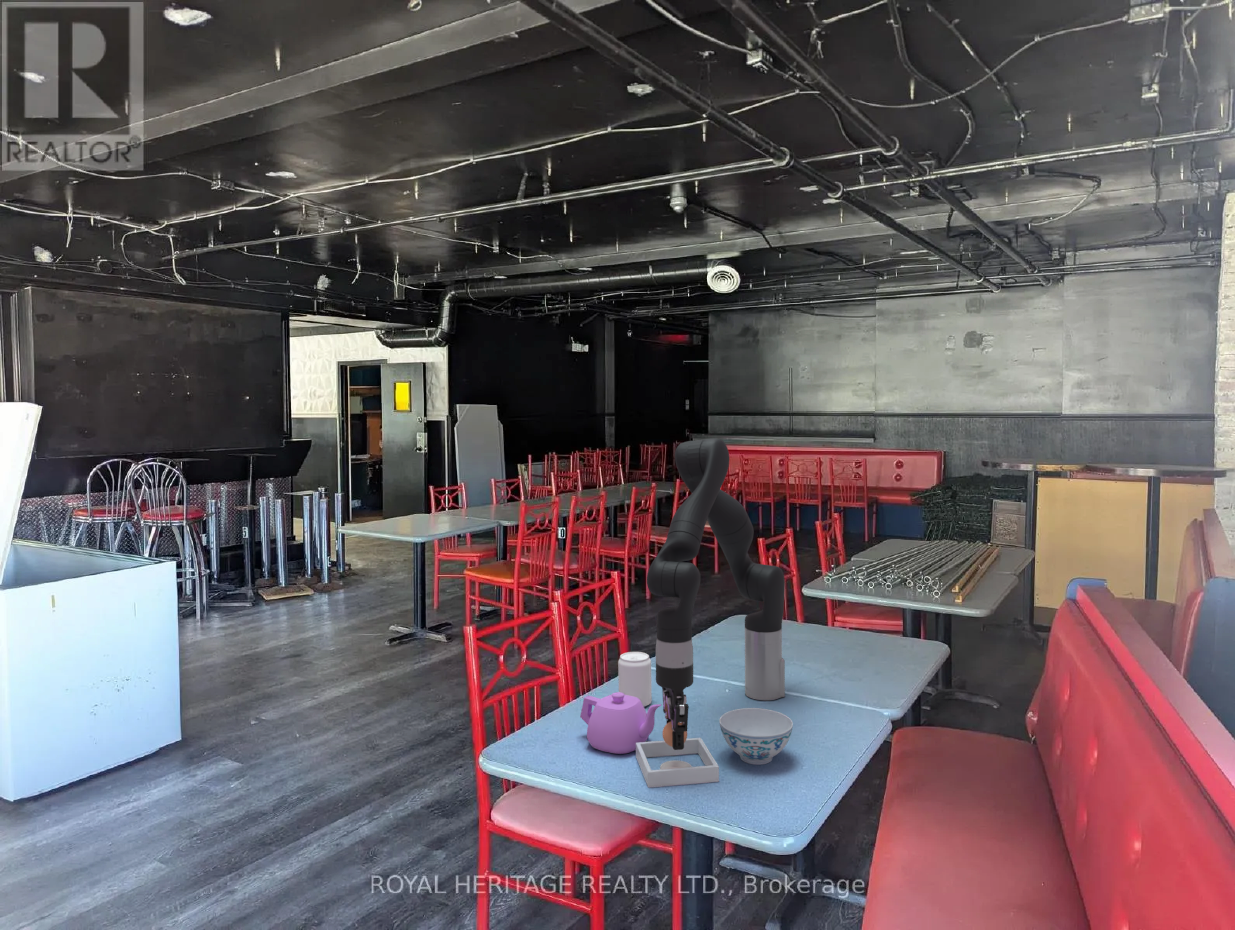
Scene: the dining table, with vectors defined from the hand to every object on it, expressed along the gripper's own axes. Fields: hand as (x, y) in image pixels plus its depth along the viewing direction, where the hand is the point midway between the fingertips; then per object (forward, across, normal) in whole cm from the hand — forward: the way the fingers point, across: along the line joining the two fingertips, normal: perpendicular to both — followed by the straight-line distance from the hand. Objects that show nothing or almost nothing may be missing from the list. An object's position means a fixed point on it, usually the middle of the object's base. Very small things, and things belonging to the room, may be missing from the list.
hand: (675, 742), depth 160 cm
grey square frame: (+5, 0, 0) cm, 5 cm away
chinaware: (+5, +2, -18) cm, 19 cm away
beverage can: (+5, +37, +2) cm, 37 cm away
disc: (+5, 0, 0) cm, 5 cm away
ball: (+1, 0, 0) cm, 1 cm away
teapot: (+6, +14, +9) cm, 18 cm away
